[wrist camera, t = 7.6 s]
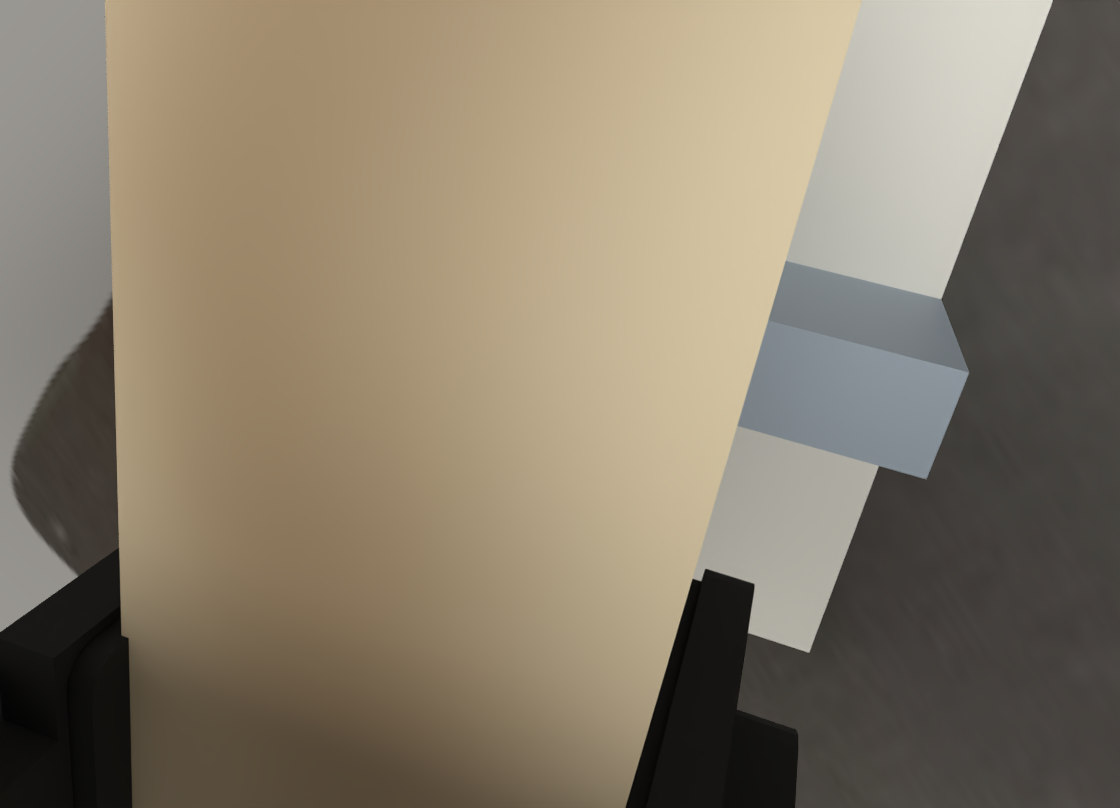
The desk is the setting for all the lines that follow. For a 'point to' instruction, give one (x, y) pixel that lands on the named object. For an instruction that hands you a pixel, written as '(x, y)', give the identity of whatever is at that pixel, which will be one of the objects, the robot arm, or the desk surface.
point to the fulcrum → (866, 298)
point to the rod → (433, 375)
